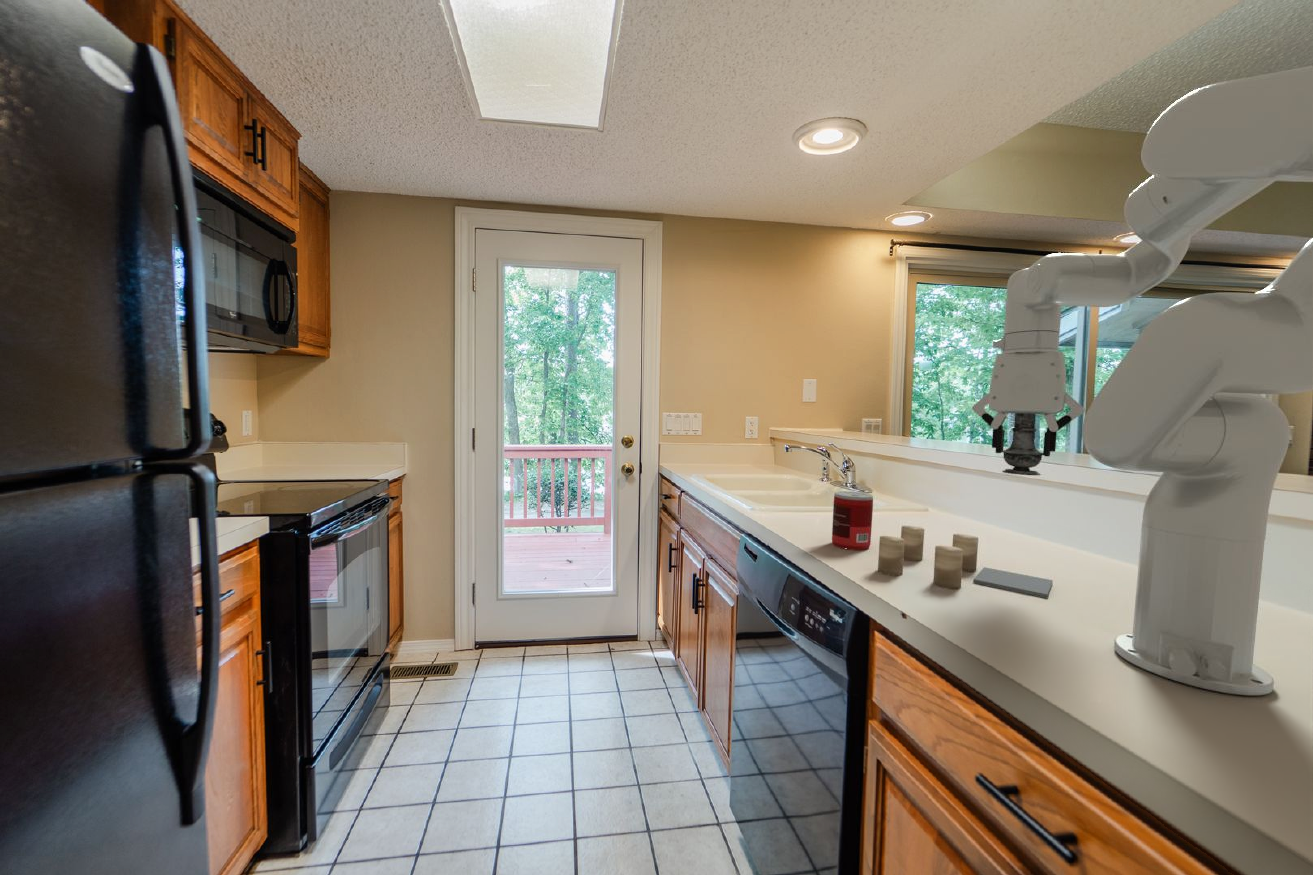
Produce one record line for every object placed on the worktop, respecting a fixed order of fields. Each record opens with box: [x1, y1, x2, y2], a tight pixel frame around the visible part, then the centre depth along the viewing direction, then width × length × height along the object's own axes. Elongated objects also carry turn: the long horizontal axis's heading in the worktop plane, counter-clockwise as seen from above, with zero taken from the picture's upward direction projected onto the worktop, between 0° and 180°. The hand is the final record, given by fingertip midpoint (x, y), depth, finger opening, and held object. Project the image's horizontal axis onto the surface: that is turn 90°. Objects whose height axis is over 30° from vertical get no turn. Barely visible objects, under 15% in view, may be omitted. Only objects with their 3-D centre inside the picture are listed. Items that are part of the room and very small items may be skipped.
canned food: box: [831, 490, 874, 551], centre depth 110 cm, size 8×8×11 cm
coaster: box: [972, 566, 1053, 599], centre depth 88 cm, size 10×10×1 cm
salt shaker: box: [1001, 413, 1044, 476], centre depth 87 cm, size 6×6×12 cm
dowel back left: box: [900, 525, 925, 562], centre depth 102 cm, size 4×4×6 cm
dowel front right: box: [933, 545, 963, 590], centre depth 86 cm, size 4×4×6 cm
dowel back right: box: [951, 533, 979, 573], centre depth 96 cm, size 4×4×6 cm
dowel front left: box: [877, 535, 905, 577], centre depth 92 cm, size 4×4×6 cm
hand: (1022, 453), depth 87 cm, fingers closed on salt shaker, 5 cm apart
